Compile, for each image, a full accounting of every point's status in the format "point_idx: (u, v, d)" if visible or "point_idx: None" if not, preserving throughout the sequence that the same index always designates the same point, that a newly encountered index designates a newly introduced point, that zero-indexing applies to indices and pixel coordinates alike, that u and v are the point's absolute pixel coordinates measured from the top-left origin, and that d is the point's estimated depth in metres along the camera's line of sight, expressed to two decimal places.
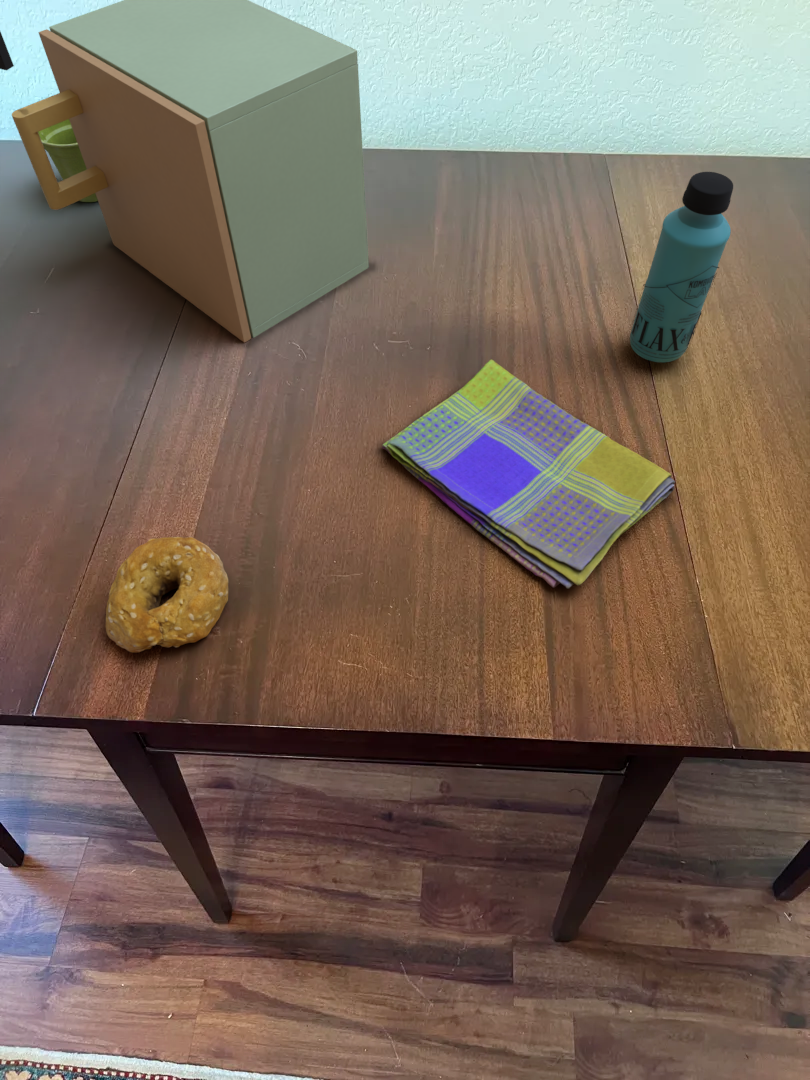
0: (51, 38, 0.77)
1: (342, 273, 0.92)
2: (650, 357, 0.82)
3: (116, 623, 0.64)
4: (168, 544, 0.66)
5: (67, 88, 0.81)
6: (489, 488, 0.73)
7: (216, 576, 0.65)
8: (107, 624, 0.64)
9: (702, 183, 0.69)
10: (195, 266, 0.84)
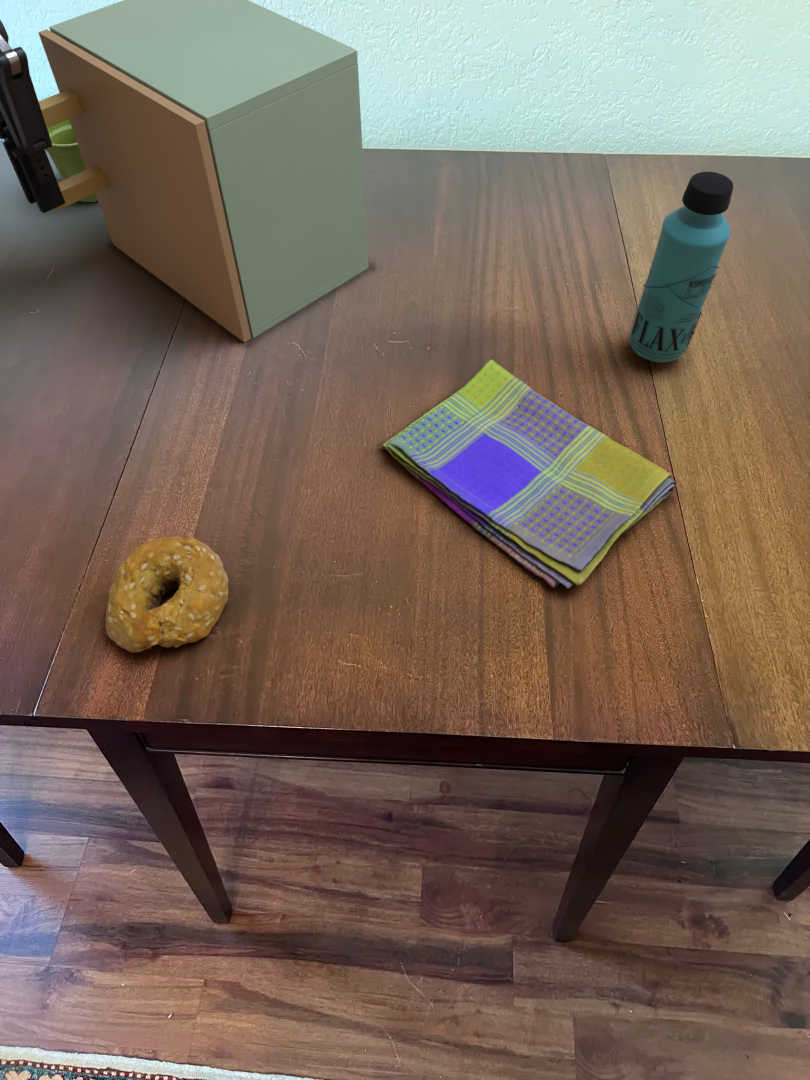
0: (51, 38, 0.77)
1: (342, 273, 0.92)
2: (650, 357, 0.82)
3: (116, 623, 0.64)
4: (168, 544, 0.66)
5: (67, 88, 0.81)
6: (489, 488, 0.73)
7: (216, 576, 0.65)
8: (107, 624, 0.64)
9: (702, 183, 0.69)
10: (195, 266, 0.84)
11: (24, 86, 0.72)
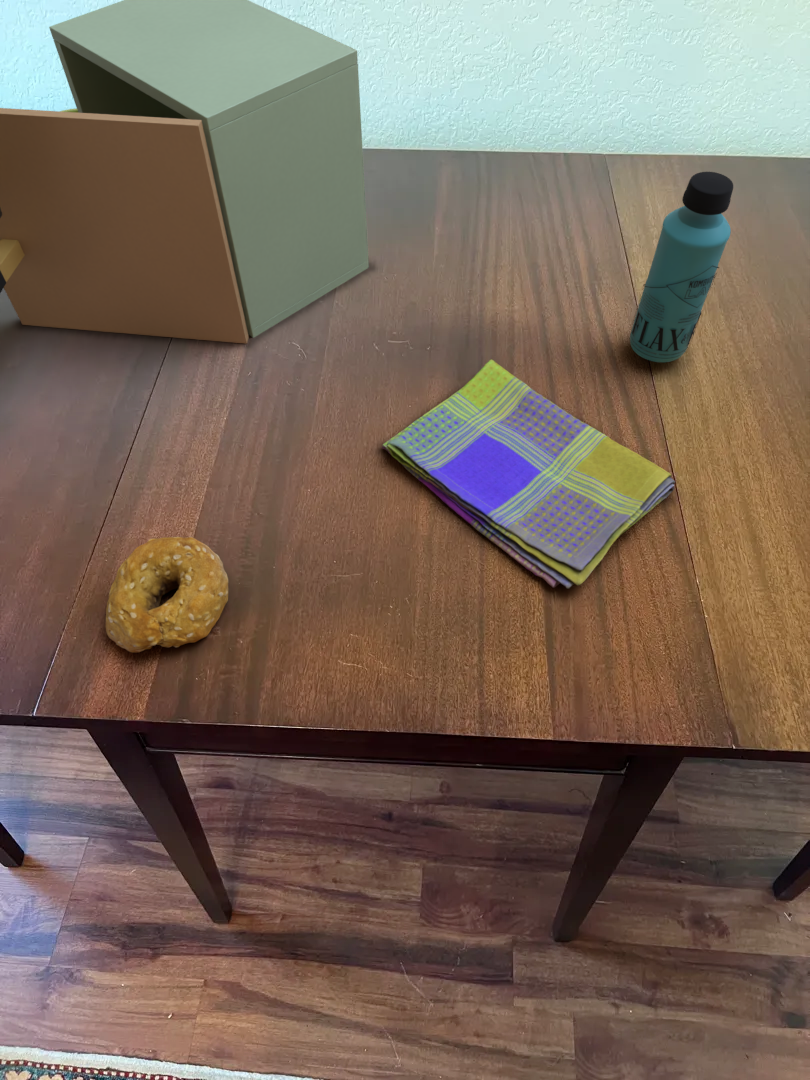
0: None
1: (342, 273, 0.92)
2: (650, 357, 0.82)
3: (116, 623, 0.64)
4: (168, 544, 0.66)
5: None
6: (489, 488, 0.73)
7: (216, 576, 0.65)
8: (107, 624, 0.64)
9: (702, 183, 0.69)
10: (174, 289, 0.82)
11: None
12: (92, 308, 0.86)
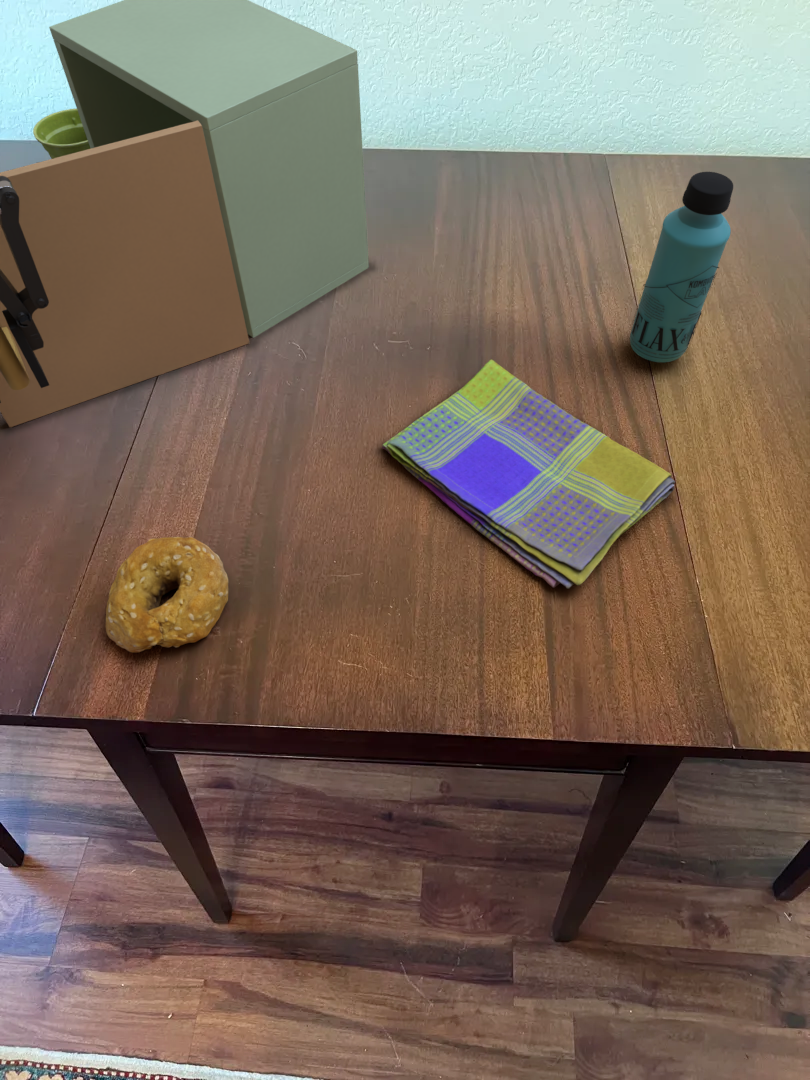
0: None
1: (342, 273, 0.92)
2: (650, 357, 0.82)
3: (116, 623, 0.64)
4: (168, 544, 0.66)
5: None
6: (489, 488, 0.73)
7: (216, 576, 0.65)
8: (107, 624, 0.64)
9: (702, 183, 0.69)
10: (178, 314, 0.80)
11: None
12: (90, 373, 0.80)
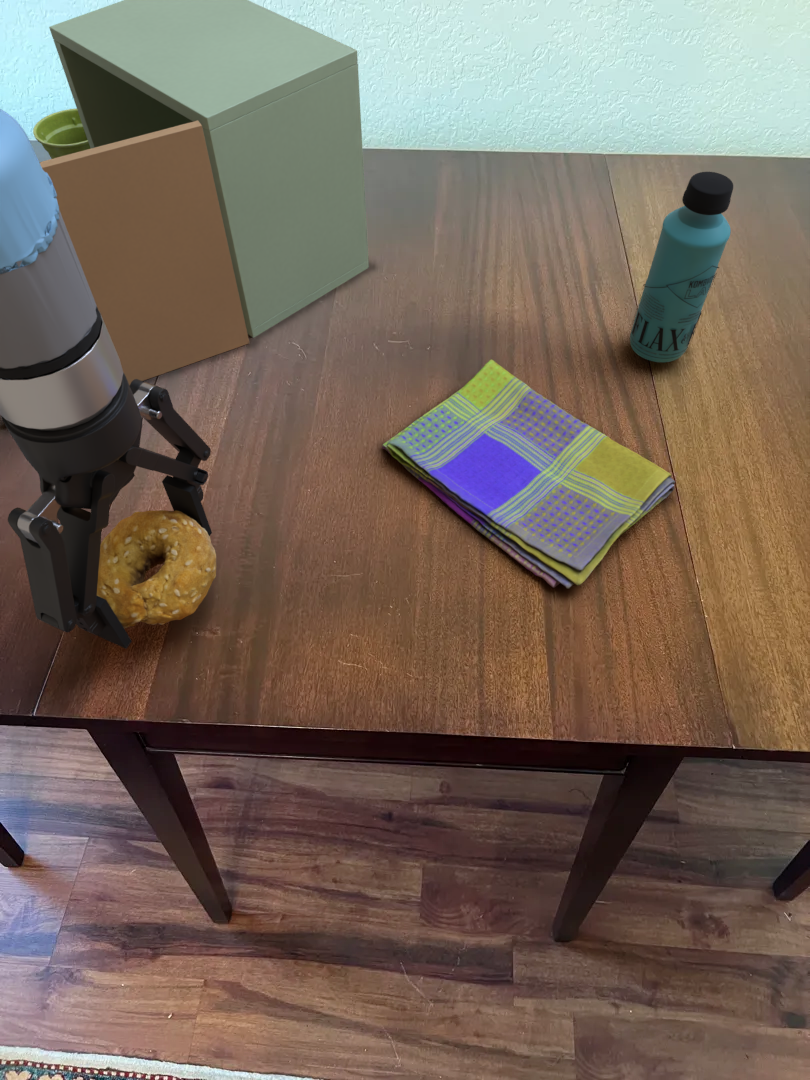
0: None
1: (342, 273, 0.92)
2: (650, 357, 0.82)
3: None
4: (153, 518, 0.63)
5: None
6: (489, 488, 0.73)
7: (204, 551, 0.63)
8: None
9: (702, 183, 0.69)
10: (178, 314, 0.80)
11: None
12: None
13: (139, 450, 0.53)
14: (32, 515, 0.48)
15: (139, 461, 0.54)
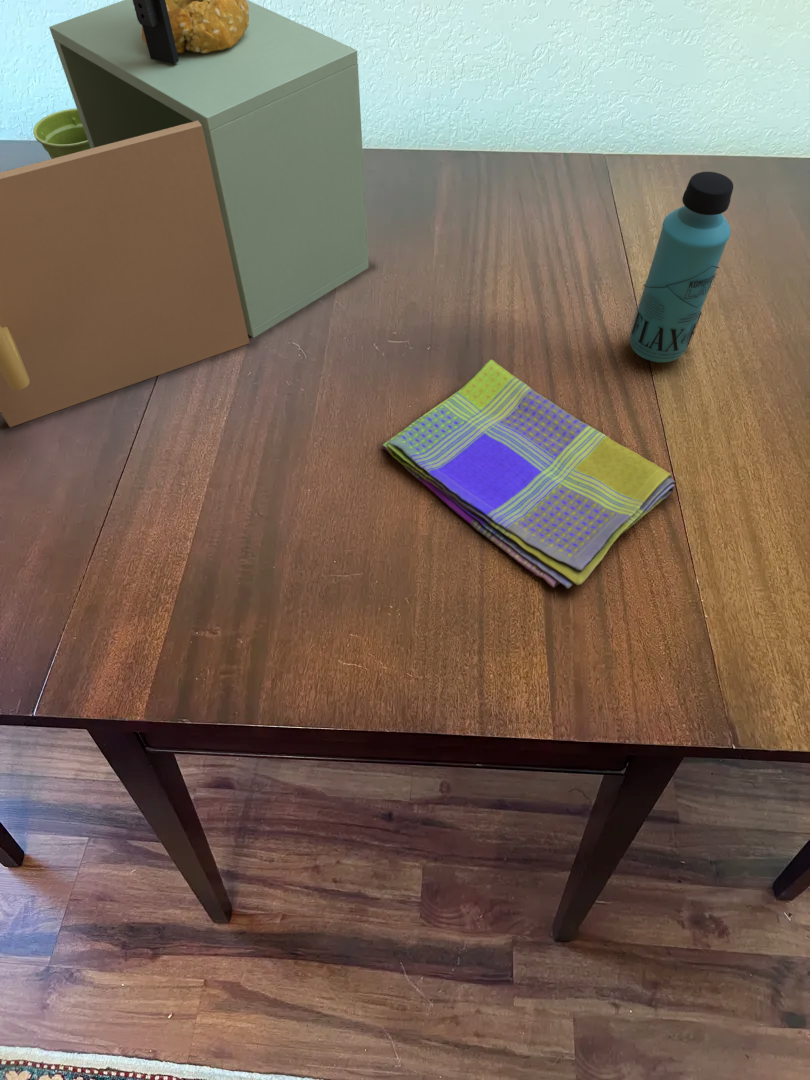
0: None
1: (342, 273, 0.92)
2: (650, 357, 0.82)
3: None
4: None
5: None
6: (489, 488, 0.73)
7: None
8: None
9: (702, 183, 0.69)
10: (178, 314, 0.80)
11: None
12: (90, 373, 0.80)
13: None
14: None
15: None
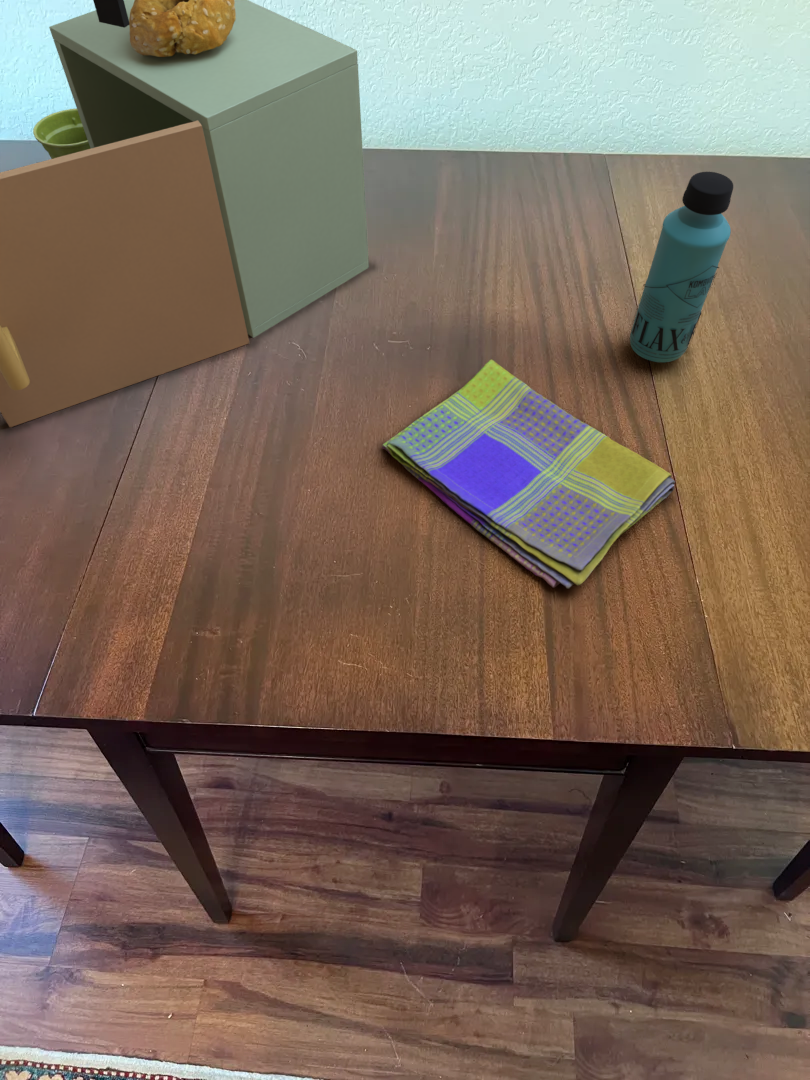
0: None
1: (342, 273, 0.92)
2: (650, 357, 0.82)
3: (139, 26, 0.72)
4: None
5: None
6: (489, 488, 0.73)
7: None
8: (131, 32, 0.73)
9: (702, 183, 0.69)
10: (178, 314, 0.80)
11: None
12: (90, 373, 0.80)
13: None
14: None
15: None
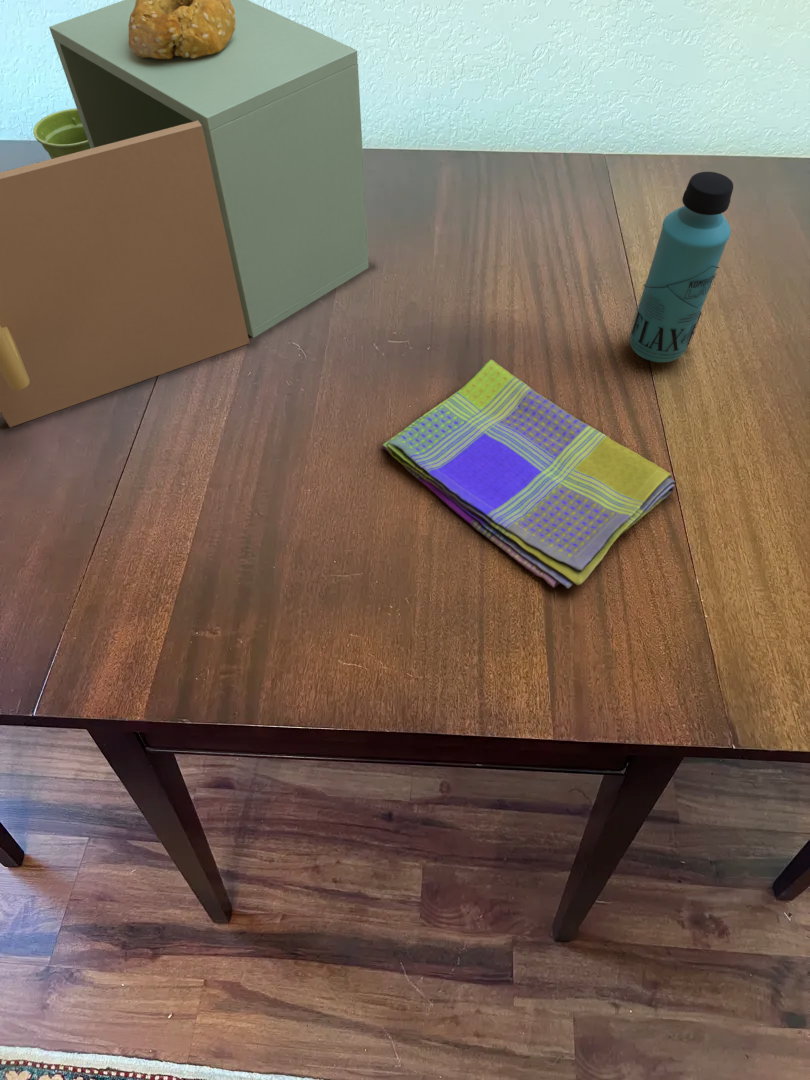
0: None
1: (342, 273, 0.92)
2: (650, 357, 0.82)
3: (139, 27, 0.72)
4: None
5: None
6: (489, 488, 0.73)
7: None
8: (130, 34, 0.73)
9: (702, 183, 0.69)
10: (178, 314, 0.80)
11: None
12: (90, 373, 0.80)
13: None
14: None
15: None
